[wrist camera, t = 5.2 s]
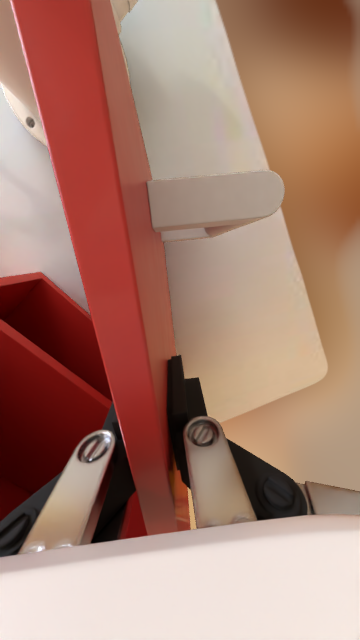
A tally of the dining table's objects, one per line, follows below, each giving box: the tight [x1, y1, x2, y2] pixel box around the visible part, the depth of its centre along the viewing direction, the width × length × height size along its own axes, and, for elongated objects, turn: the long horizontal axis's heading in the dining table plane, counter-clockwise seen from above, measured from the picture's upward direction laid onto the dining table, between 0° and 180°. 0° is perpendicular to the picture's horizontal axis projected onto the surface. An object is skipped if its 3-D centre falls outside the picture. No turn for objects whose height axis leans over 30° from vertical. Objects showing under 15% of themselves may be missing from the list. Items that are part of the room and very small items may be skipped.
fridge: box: [0, 272, 148, 539], centre depth 20 cm, size 18×26×24 cm
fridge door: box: [10, 0, 284, 536], centre depth 17 cm, size 7×26×24 cm, turn 5°
